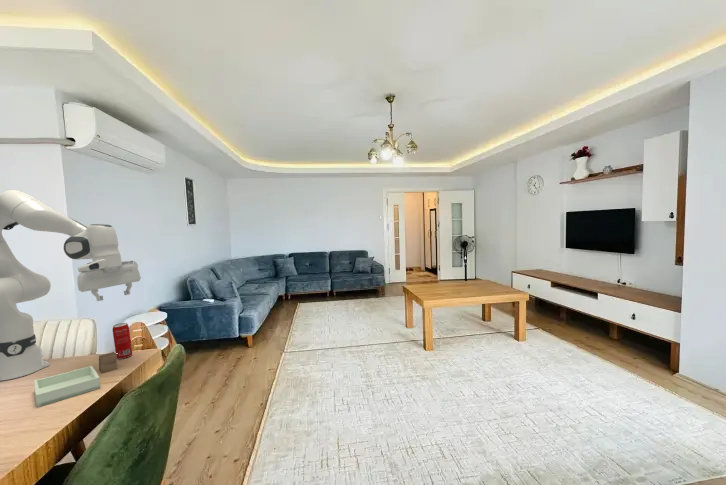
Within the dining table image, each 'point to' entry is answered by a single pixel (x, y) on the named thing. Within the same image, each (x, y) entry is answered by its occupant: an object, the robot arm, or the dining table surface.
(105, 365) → the walnut block
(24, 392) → the dining table surface
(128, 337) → the beverage can
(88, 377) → the bin
